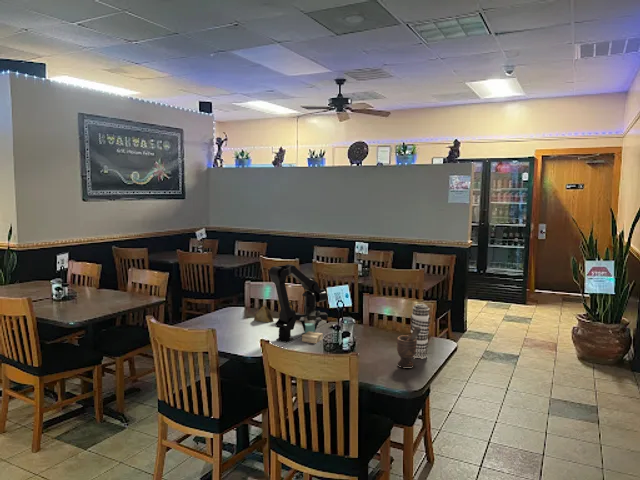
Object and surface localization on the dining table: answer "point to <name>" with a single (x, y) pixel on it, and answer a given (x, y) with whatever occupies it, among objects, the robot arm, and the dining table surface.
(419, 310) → the decorative candle
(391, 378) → the dining table surface
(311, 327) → the teal cube
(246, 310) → the dining table surface
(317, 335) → the beech block
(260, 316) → the rock
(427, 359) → the dining table surface
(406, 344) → the mortar and pestle
